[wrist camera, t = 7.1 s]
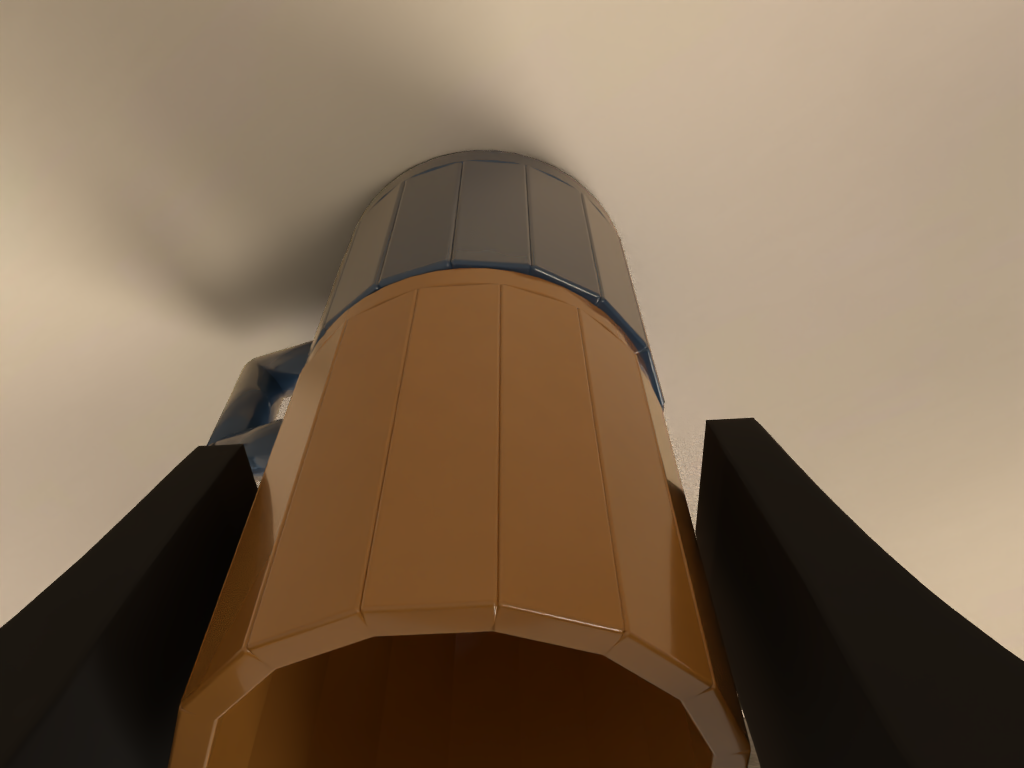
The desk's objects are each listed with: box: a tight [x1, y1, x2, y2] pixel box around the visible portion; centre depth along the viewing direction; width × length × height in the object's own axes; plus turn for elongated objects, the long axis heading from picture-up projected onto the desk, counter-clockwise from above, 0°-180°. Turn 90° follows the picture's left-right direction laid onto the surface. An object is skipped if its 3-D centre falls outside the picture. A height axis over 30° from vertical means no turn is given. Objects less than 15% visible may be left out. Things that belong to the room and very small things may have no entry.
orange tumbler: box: [167, 268, 751, 768], centre depth 10 cm, size 5×5×6 cm
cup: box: [207, 150, 665, 482], centre depth 14 cm, size 8×5×4 cm
